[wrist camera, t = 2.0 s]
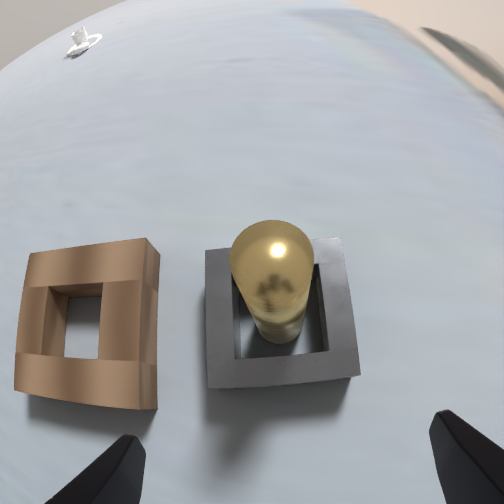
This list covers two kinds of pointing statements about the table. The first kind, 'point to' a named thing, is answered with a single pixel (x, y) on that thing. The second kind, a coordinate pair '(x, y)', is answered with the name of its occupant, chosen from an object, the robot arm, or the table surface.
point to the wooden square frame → (110, 332)
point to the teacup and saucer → (82, 41)
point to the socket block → (291, 366)
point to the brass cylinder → (274, 276)
